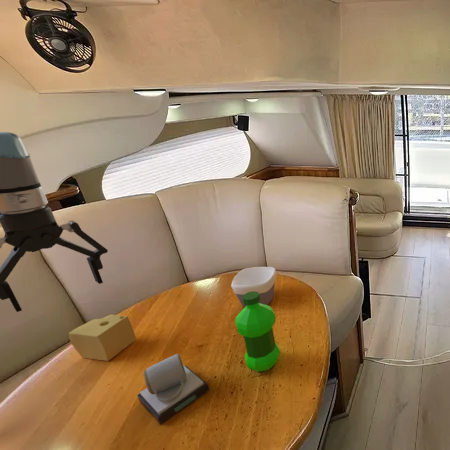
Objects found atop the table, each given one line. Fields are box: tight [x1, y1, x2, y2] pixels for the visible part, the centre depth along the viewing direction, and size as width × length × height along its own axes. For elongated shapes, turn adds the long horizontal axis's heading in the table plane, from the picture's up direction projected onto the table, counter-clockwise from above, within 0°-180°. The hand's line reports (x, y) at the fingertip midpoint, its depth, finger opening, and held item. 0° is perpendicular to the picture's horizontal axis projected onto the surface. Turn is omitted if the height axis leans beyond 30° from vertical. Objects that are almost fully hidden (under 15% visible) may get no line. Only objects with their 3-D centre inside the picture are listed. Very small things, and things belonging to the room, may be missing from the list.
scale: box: [136, 365, 210, 426], centre depth 84 cm, size 12×12×3 cm
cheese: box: [68, 314, 137, 362], centre depth 99 cm, size 10×11×10 cm
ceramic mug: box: [143, 353, 187, 402], centre depth 82 cm, size 11×8×8 cm
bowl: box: [230, 266, 277, 308], centre depth 125 cm, size 15×15×11 cm
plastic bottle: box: [234, 291, 281, 373], centre depth 91 cm, size 10×10×25 cm
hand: (61, 294), depth 73 cm, fingers open, 13 cm apart
